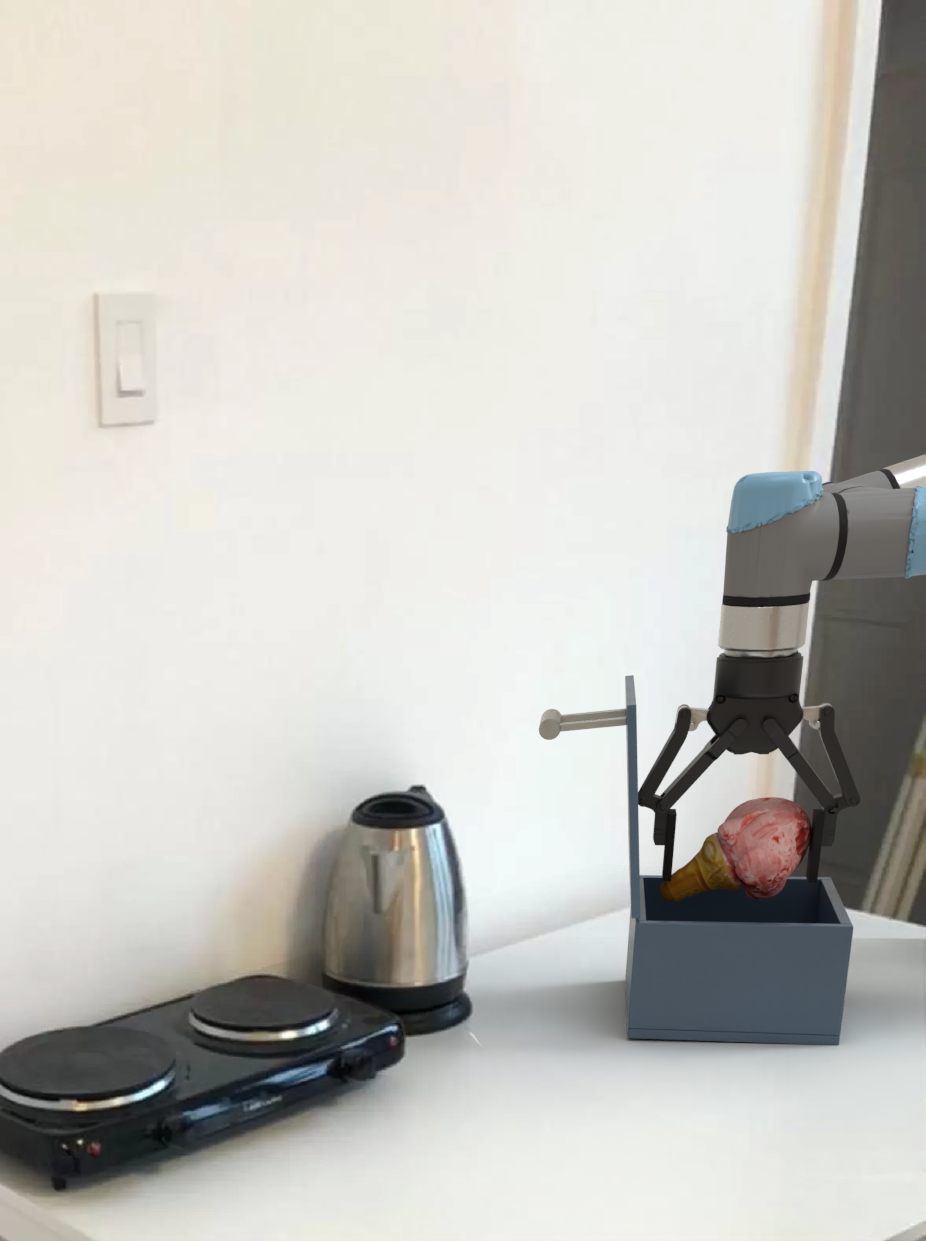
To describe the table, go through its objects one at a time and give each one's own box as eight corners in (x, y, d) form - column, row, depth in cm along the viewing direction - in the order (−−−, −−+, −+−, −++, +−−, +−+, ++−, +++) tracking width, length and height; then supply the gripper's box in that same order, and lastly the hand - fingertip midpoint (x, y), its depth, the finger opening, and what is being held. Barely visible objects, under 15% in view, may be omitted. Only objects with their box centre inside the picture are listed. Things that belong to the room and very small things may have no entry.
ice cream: (657, 910, 170) (810, 830, 163) (628, 838, 176) (775, 757, 169) (700, 964, 178) (848, 889, 171) (671, 892, 183) (814, 817, 176)
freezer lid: (633, 675, 177) (542, 684, 180) (636, 704, 160) (535, 714, 163) (637, 870, 184) (549, 876, 187) (640, 917, 168) (543, 924, 170)
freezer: (817, 986, 184) (830, 876, 179) (838, 1045, 167) (853, 926, 163) (625, 981, 189) (632, 874, 185) (626, 1038, 172) (635, 922, 168)
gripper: (899, 642, 164) (871, 870, 173) (620, 649, 171) (605, 868, 180) (912, 653, 158) (881, 889, 166) (621, 659, 165) (605, 886, 173)
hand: (738, 879), depth 173 cm, fingers closed on ice cream, 12 cm apart
